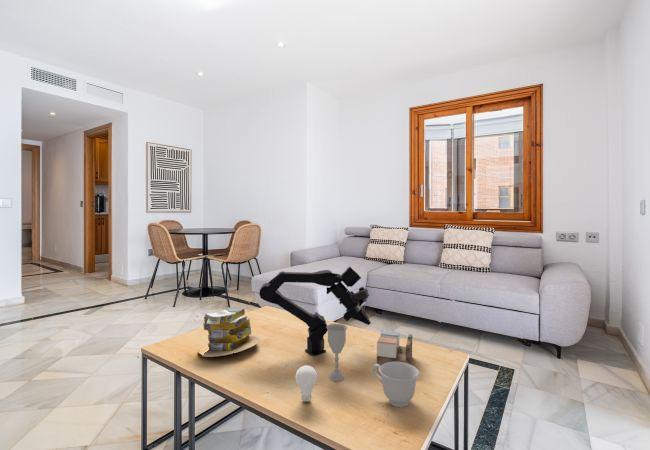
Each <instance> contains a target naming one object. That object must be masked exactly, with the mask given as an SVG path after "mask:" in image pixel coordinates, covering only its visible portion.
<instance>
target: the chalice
mask: <svg viewBox="0 0 650 450" xmlns="http://www.w3.org/2000/svg"><path fill="white" fill-rule="evenodd" d="M326 328H327V329H328V331H327V343H328V345H329V347H330V349H331V351H332V353H333V354H335V355H334V358H333V359H334V361H335V362H334V363H333V365H334V369H333V370H332V371H331V373H330V375H329V379H330V381H333V382H342V381H343V380H344V379H345V377H344V374H343V372H342V370H340V369H339V365H340V363H339V360H340V358H339V354H341V353H342V352H343V349H344V347H345V344H346V341H347V340H346V336H347V335H346V334H347V333H346V331H347V329H348V326H347V325H345V324H340V323H331V324H330V323H329V324H327V326H326Z"/></svg>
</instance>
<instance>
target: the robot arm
mask: <svg viewBox="0 0 650 450" xmlns="http://www.w3.org/2000/svg"><path fill="white" fill-rule="evenodd" d="M361 279H362V277H361V276H360V275H359V274H358V273H357V272H356V271H355V270H354V269H353V268H352V267H351V266H348V267H347V268H346V270H345V271H343V272H342V274H340V273H334V272H333V271H331V270H330V269H324V270H318V271H314V272H305V271H304V272H300V271H299V272H296V271H284V270H283V271H279V272H278V274H277V275H276V276H274V277H273V278H272V279H271V280H269V281H268V282H264V283H263V284H262V285H261V287H260V289H259V292H258V294H259V297H260V299H261V300H263V301H265V302H268V303H270V304H273V305H277V306H279V307H281V308H282V310H283V309H284V310H285V311H287V312H288V313H289V314H290V315H293V316H294V317H295V318H297V319H298V320H300V321H301V322H303V323H305V325H306V326H307V327H308V328H307V332H308V336H307V339H306V340H307V341H306V345H307V346H306V349H304V351H305V353H308V354H309V355H312V356H318V355H321V354H323V353H326V352H327V349H325V338H324V336H325V335H326V334H328V329H327V328H326V326H327V325H328V324H327V321H326V319H325V317H324V315H321V314H320V313H319V312H317V311H315V312H314V313H310V312H309V311H307V310H306V309H304V308H303V307H301V306H300V305H298V304H296V303H295V302H293V301H292V300H290V299H289V298H287V297H286V296H284V295H283V294H282V292H280V290H279V289H280V287H281V286H283V284H284V283H298V284H299V283H300V284H301V283H303V284H307V283H308V284H311V283H312V284H316V285H319V286H322V287H323V286H325V287H326V295H329V294H330V293H331V294H332V295H334V297H335V298H336V299H337V300H338V301H339V302H338V304H339V305H342V306H343V307H344V308H345V313H344V314H343V319H344V320H345V321H346V322H349V320H350V319H352V320H353V319H354V320H356V321H358V322H361V323H363V324H365V325H367V326H369V325H371V324H372V323H371V321H370V318H369V317H368V314H367V313H366V310H365V307H366V304H364V303H366V301H367V299H368V298H369V297H370V295H369V290H368V289H367V288H365V287H364V286H361V287H359V288H358V291H357V292H354V291H353V290H351V291H350V290H349V289H348V288H350V287H351V288H352V287H354V286H355V285H356V284H357V283H358V282H359V281H360V280H361Z"/></svg>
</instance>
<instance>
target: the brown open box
mask: <svg viewBox="0 0 650 450" xmlns="http://www.w3.org/2000/svg"><path fill="white" fill-rule="evenodd" d="M412 359H413V334H412V333H408V334H407V340H406V344H405V345H404V346H403V345H399V348H397V356H396V358H389V357H382V356H377V355H376V364H379V365H380V366H381V365H382V364H384V363H387V362H404V363H408V364H411V365H412Z"/></svg>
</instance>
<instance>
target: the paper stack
mask: <svg viewBox="0 0 650 450" xmlns="http://www.w3.org/2000/svg"><path fill="white" fill-rule="evenodd" d="M245 310H246V309H245V307H240V308H239V307H230V308H229V307H228V308H225V309H224V308H223V309H221V310H220V309H219V310H218V311H216V312H208V313H205V314H204V317H203V320H204V323H203V325H202V326H203V330H204V331H207V333H208V335H207V338H208V344H207V345H208V347H209V350H208V351H207V352H205V353H204V355H202V356H201V357H204V358H209V357H210V358H213V357H214V358H215V357H221V356H222V357H223V356H227V355H232V354H233V353H234V354H235V353H239V352H243V351H245V350H247V349H250V348H252V347H254V346H255V345H257V344H258V342H260V337H258V336H256V335H252V326H251V322H250V320H251V319H250V317H248V316H247V315H246V311H245Z"/></svg>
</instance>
